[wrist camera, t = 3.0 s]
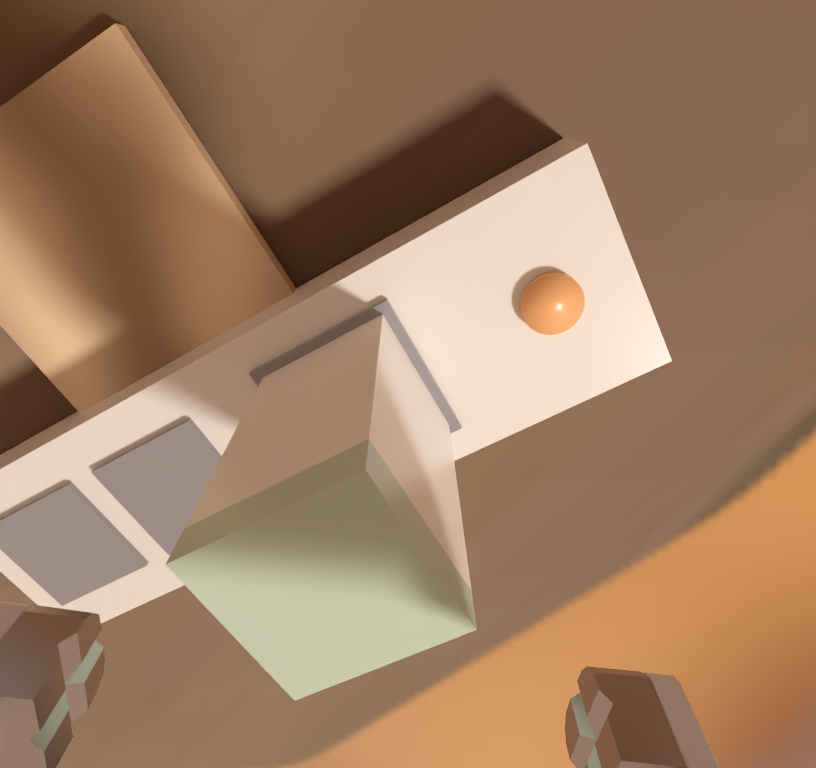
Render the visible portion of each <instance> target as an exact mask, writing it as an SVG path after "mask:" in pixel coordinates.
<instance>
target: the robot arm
mask: <svg viewBox="0 0 816 768" xmlns="http://www.w3.org/2000/svg"><path fill="white" fill-rule="evenodd" d="M101 629H102V628H101V622H100V616H99V614H95V613H90V612H82V611H75V610H68V609H61V608H53V607H46V606H39V605H30V604H22V603H14V602H6V601H1V602H0V768H56V767H57V765H58V764H59V762H60V760H61V758H62V756H63V755H64V753H65V751H66V749H67V747H68V745H69V744H70V742H71V740H72V738H73V733H72V726H71V722H72V721H73V720H74V719H76V718H77V717H79V716H80V715H81V714H83V713H84V712H86V711H87V710H88V709H89V707H90V705H91V703H92V701H93V699H94V697H95V695H96V693H97V691H98V688H99V685H100V682H101V679H102V676H103V672H104V663H105V655H104V648H103V647H102V646H101V645H100V644H99V643H98V642H97V641H96V640H95V639H96V638H97V636H98V634H99V633H100V631H101ZM578 685H579V688H580V693H579V694H577V695H576V696H574V697H573V698H571V699H570V702H569V705H568V708H567V711H566V722H565V734H566V744H567V749H568V753H569V758H570V760H571V761H572V763H574V765H575V766H576V767H577V768H719V766H718V764H717V761H716V759H715V757H714V755H713V753H712V750H711V748H710V746H709V744H708V742H707V740H706V738H705V736H704V733H703V731H702V729H701V727H700V725H699V723H698V720H697V718H696V716H695V714H694V712H693V710H692V708H691V705H690V703H689V701H688V699H687V697H686V695H685V693H684V691H683V689H682V686H681V684H680V682H679V681H678V680H677V679H676V678H675V677H674V676H669V675H660V674H651V673H642V672H638V671H637V672H636V671H627V670H616V669H607V668H596V667H586V668H584V669H583V670H582V671H581V674H580V676H579V679H578Z"/></svg>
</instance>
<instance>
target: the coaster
mask: <svg viewBox="0 0 816 768" xmlns="http://www.w3.org/2000/svg"><path fill="white" fill-rule="evenodd" d="M295 290H296V287H295V286H294V284H293V283H292V281H291V280H290V278H289V277H288V275H287V273H286V272H285V270H284V269H283V267H282V266H281V264H280V263H279V261H278V260H277V258H276V257H275V255H274V254H273V252H272V250H271V249H270V247H269V246H268V244H267V243H266V241H265V240H264V238H263V237H262V235H261V234H260V232H259V231H258V229H257V227H256V226H255V224H254V223H253V221H252V220H251V218H250V217H249V215H248V214H247V212H246V211H245V209H244V208H243V206H242V204H241V203H240V201H239V200H238V198H237V197H236V195H235V194H234V192H233V191H232V189H231V188H230V186H229V185H228V183H227V181H226V180H225V178H224V177H223V175H222V174H221V172H220V171H219V169H218V168H217V166H216V165H215V163H214V161H213V160H212V158H211V157H210V155H209V154H208V152H207V151H206V149H205V148H204V146H203V145H202V143H201V142H200V140H199V138H198V137H197V135H196V134H195V132H194V131H193V129H192V128H191V126H190V125H189V123H188V122H187V120H186V119H185V117H184V115H183V114H182V112H181V111H180V109H179V108H178V106H177V105H176V103H175V102H174V100H173V99H172V97H171V96H170V94H169V92H168V91H167V89H166V88H165V86H164V85H163V83H162V82H161V80H160V79H159V77H158V76H157V74H156V73H155V71H154V69H153V68H152V66H151V65H150V63H149V62H148V60H147V59H146V57H145V56H144V54H143V53H142V51H141V50H140V48H139V46H138V45H137V43H136V42H135V40H134V39H133V37H132V36H131V34H130V33H129V31H128V30H127V28H126V26H124V25H120V24H117V23H115V24H113V25H112V26H111V27H109V28H108V29H106V30H105V31H104V32H102V33H101V34H100V35H98V36H97V37H95V38H94V39H93V40H91V41H90V42H89V43H87V44H86V45H85V46H83V47H82V48H80V49H79V50H78V51H76V52H75V53H74V54H72V55H71V56H69V57H68V58H67V59H65V60H64V61H63V62H61V63H60V64H58V65H57V66H56V67H54V68H53V69H52V70H50V71H49V72H47V73H46V74H45V75H43V76H42V77H41V78H39V79H38V80H36V81H35V82H34V83H32V84H31V85H30V86H28V87H27V88H25V89H24V90H23V91H21V92H20V93H19V94H17V95H16V96H14V97H13V98H12V99H10V100H9V101H8V102H6V103H5V104H3V105H2V106H1V107H0V325H1V326H2V328H3V329H4V330H5V331H6V332H7V333H8V334H9V335H10V336H11V338H12V339H13V340H14V341H15V342H16V343H17V344H18V345H19V346H20V348H21V349H22V350H23V351H24V352H25V353H26V354H27V355H28V356H29V358H30V359H31V360H32V361H33V362H34V363H35V364H36V365H37V366H38V368H39V369H40V370H41V371H42V372H43V373H44V374H45V375H46V376H47V378H48V379H49V380H50V381H51V382H52V383H53V384H54V385H55V386H56V388H57V389H58V390H59V391H60V392H61V393H62V394H63V395H64V396H65V398H66V399H67V400H68V401H69V402H70V403H71V404H72V405H73V406H74V408H75V409H76V410H77V411H78V412H79V413H81V412H83V411H85V410H87V409H88V408H90V407H92V406H94V405H96V404H97V403H99V402H101V401H103V400H104V399H106V398H108V397H110V396H112V395H113V394H115V393H117V392H119V391H121V390H122V389H124V388H126V387H128V386H129V385H131V384H133V383H135V382H137V381H138V380H140V379H142V378H144V377H145V376H147V375H149V374H151V373H153V372H154V371H156V370H158V369H160V368H162V367H163V366H165V365H167V364H169V363H170V362H172V361H174V360H176V359H178V358H179V357H181V356H183V355H185V354H187V353H188V352H190V351H192V350H194V349H195V348H197V347H199V346H201V345H203V344H204V343H206V342H208V341H210V340H211V339H213V338H215V337H217V336H219V335H220V334H222V333H224V332H226V331H228V330H229V329H231V328H233V327H235V326H236V325H238V324H240V323H242V322H244V321H245V320H247V319H249V318H251V317H252V316H254V315H256V314H258V313H260V312H261V311H263V310H265V309H267V308H269V307H270V306H272V305H274V304H276V303H277V302H279V301H281V300H283V299H285V298H286V297H288V296H290V295H292V294H293V293H294V291H295Z"/></svg>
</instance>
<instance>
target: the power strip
mask: <svg viewBox="0 0 816 768" xmlns="http://www.w3.org/2000/svg"><path fill="white" fill-rule="evenodd" d="M382 314H383V315H384V317H385V319H386V320H387V322H388V324H389V325H390V327H391V329H392V330H393V332H394V334H395V335H396V337H397V339H398V340H399V342H400V344H401V345H402V347H403V349H404V350H405V352H406V354H407V355H408V357H409V359H410V360H411V362H412V364H413V365H414V367H415V369H416V370H417V372H418V374H419V375H420V377H421V379H422V380H423V382H424V384H425V385H426V387H427V389H428V390H429V392H430V394H431V395H432V397H433V399H434V400H435V402H436V404H437V405H438V407H439V409H440V411H441V412H442V414H443V416H444V417H445V419H446V421H447V422H448V424H449V428H450V435H451V443H452V450H453V457H454V461H455V460H457V459H460V458H462V457H464V456H466V455H468V454H470V453H473V452H475V451H477V450H479V449H481V448H483V447H486V446H488V445H490V444H492V443H494V442H497V441H499V440H501V439H503V438H505V437H507V436H510V435H512V434H514V433H516V432H518V431H520V430H523V429H525V428H527V427H529V426H531V425H534V424H536V423H538V422H540V421H542V420H544V419H547V418H549V417H551V416H553V415H555V414H557V413H560V412H562V411H564V410H566V409H568V408H570V407H573V406H575V405H577V404H579V403H581V402H584V401H586V400H588V399H590V398H592V397H594V396H597V395H599V394H601V393H603V392H605V391H607V390H610V389H612V388H614V387H616V386H618V385H621V384H623V383H625V382H627V381H629V380H631V379H634V378H636V377H638V376H640V375H642V374H644V373H647V372H649V371H651V370H653V369H655V368H658V367H660V366H662V365H664V364H666V363H668V362H671V361H672V360H671V357H670V355H669V352H668V350H667V347H666V344H665V342H664V339H663V337H662V334H661V332H660V329H659V326H658V324H657V321H656V319H655V316H654V314H653V311H652V308H651V306H650V303H649V301H648V298H647V295H646V293H645V290H644V288H643V285H642V283H641V280H640V277H639V275H638V272H637V270H636V267H635V265H634V262H633V259H632V257H631V254H630V252H629V249H628V247H627V244H626V241H625V239H624V236H623V234H622V231H621V229H620V226H619V223H618V221H617V218H616V216H615V213H614V211H613V208H612V205H611V203H610V200H609V198H608V195H607V193H606V190H605V187H604V185H603V182H602V180H601V177H600V175H599V172H598V169H597V167H596V164H595V162H594V159H593V157H592V154H591V151H590V149H589V146H588V144H587V143H584V142H580V141H575V140H571V139H566V138H563V139H561V140H559V141H558V142H556V143H554V144H552V145H551V146H549V147H547V148H545V149H543V150H542V151H540V152H538V153H536V154H534V155H533V156H531V157H529V158H527V159H526V160H524V161H522V162H520V163H518V164H517V165H515V166H513V167H511V168H510V169H508V170H506V171H504V172H502V173H501V174H499V175H497V176H495V177H494V178H492V179H490V180H488V181H486V182H485V183H483V184H481V185H479V186H478V187H476V188H474V189H472V190H470V191H469V192H467V193H465V194H463V195H462V196H460V197H458V198H456V199H454V200H453V201H451V202H449V203H447V204H446V205H444V206H442V207H440V208H438V209H437V210H435V211H433V212H431V213H430V214H428V215H426V216H424V217H422V218H421V219H419V220H417V221H415V222H414V223H412V224H410V225H408V226H406V227H405V228H403V229H401V230H399V231H398V232H396V233H394V234H392V235H390V236H389V237H387V238H385V239H383V240H382V241H380V242H378V243H376V244H374V245H373V246H371V247H369V248H367V249H365V250H364V251H362V252H360V253H358V254H357V255H355V256H353V257H351V258H349V259H348V260H346V261H344V262H342V263H341V264H339V265H337V266H335V267H333V268H332V269H330V270H328V271H326V272H325V273H323V274H321V275H319V276H317V277H316V278H314V279H312V280H310V281H309V282H307V283H305V284H303V285H301V286H300V287H298V288H296V290H295V291H294V293H293V294H292V295H290V296H288V297H286V298H285V299H283V300H281V301H279V302H277V303H276V304H274V305H272V306H270V307H269V308H267V309H265V310H263V311H261V312H260V313H258V314H256V315H254V316H252V317H251V318H249V319H247V320H245V321H244V322H242V323H240V324H238V325H236V326H235V327H233V328H231V329H229V330H228V331H226V332H224V333H222V334H220V335H219V336H217V337H215V338H213V339H211V340H210V341H208V342H206V343H204V344H203V345H201V346H199V347H197V348H195V349H194V350H192V351H190V352H188V353H187V354H185V355H183V356H181V357H179V358H178V359H176V360H174V361H172V362H170V363H169V364H167V365H165V366H163V367H162V368H160V369H158V370H156V371H154V372H153V373H151V374H149V375H147V376H145V377H144V378H142V379H140V380H138V381H137V382H135V383H133V384H131V385H129V386H128V387H126V388H124V389H122V390H121V391H119V392H117V393H115V394H113V395H112V396H110V397H108V398H106V399H104V400H103V401H101V402H99V403H97V404H96V405H94V406H92V407H90V408H88V409H87V410H85V411H83V412H81V413H79V412H78V411H77V412H76V413H74V414H72V415H70V416H68V417H67V418H65V419H63V420H61V421H60V422H58V423H56V424H54V425H52V426H51V427H49V428H47V429H45V430H43V431H42V432H40V433H38V434H36V435H35V436H33V437H31V438H29V439H27V440H26V441H24V442H22V443H20V444H19V445H17V446H15V447H13V448H11V449H10V450H8V451H6V452H4V453H3V454H1V455H0V576H1V575H3V574H4V575H5V576H6V577H7V578H8V579H9V580H10V581H11V582H13V583H14V584H15V585H16V586H17V587H18V588H19V589H20V590H22V591H23V592H24V593H25V594H26V595H27V596H28V597H29V598H30V599H32V600H33V601H34V602H35V603H36V604H37V605H39V606H46V607H53V608H61V609H68V610H75V611H82V612H90V613H95V614H99V616H100V622H101V623H103V622H105V621H107V620H109V619H111V618H114V617H116V616H118V615H120V614H122V613H125V612H127V611H129V610H131V609H133V608H135V607H138V606H140V605H142V604H144V603H146V602H148V601H151V600H153V599H155V598H157V597H159V596H161V595H164V594H166V593H168V592H170V591H172V590H175V589H177V588H179V587H181V586H183V585H184V584H183V583H182V581H181V580H180V579H179V578H178V577H177V576H176V575H175V574H174V573H173V572H172V571H171V570H170V569H169V568H168V567H167V566H166V565H165V564H166V562H167V560H168V559H169V557H170V555H171V553H172V551H173V549H174V547H175V545H176V543H177V541H178V539H179V537H180V536H181V534H182V532H183V530H184V528H185V526H186V524H187V522H188V520H189V518H190V516H191V514H192V513H193V511H194V509H195V507H196V505H197V503H198V501H199V499H200V497H201V495H202V493H203V491H204V490H205V488H206V486H207V484H208V482H209V480H210V478H211V476H212V474H213V472H214V470H215V468H216V466H217V465H218V463H219V461H220V459H221V457H222V455H223V453H224V451H225V449H226V447H227V445H228V443H229V442H230V440H231V438H232V436H233V434H234V432H235V430H236V428H237V426H238V424H239V422H240V420H241V419H242V417H243V415H244V413H245V411H246V409H247V407H248V405H249V403H250V401H251V399H252V397H253V396H254V394H255V392H256V390H257V388H258V386H259V384H260V382H261V380H262V378H263V377H265V376H267V375H269V374H271V373H273V372H275V371H276V370H278V369H280V368H282V367H284V366H286V365H288V364H290V363H291V362H293V361H295V360H297V359H299V358H301V357H303V356H305V355H307V354H308V353H310V352H312V351H314V350H316V349H318V348H320V347H322V346H323V345H325V344H327V343H329V342H331V341H333V340H335V339H337V338H338V337H340V336H342V335H344V334H346V333H348V332H350V331H352V330H353V329H355V328H357V327H359V326H361V325H363V324H365V323H367V322H369V321H370V320H372V319H374V318H376V317H378V316H380V315H382Z"/></svg>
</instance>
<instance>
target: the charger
mask: <svg viewBox="0 0 816 768" xmlns="http://www.w3.org/2000/svg"><path fill="white" fill-rule="evenodd" d="M165 565H166V566H167V567H168V568H169V569H170V570H171V571H172V572H173V573H174V574H175V575H176V576H177V577H178V578H179V579H180V580H181V581H182V583H183V584H184V585H185V586H186V587H187V588H188V589H189V590H190V591H191V592H192V593H193V594H194V595H195V596H196V597H197V598H198V599H199V600H200V602H201V603H202V604H203V605H204V606H205V607H206V608H207V609H208V610H209V611H210V612H211V613H212V614H213V615H214V616H215V617H216V618H217V619H218V620H219V622H220V623H221V624H222V625H223V626H224V627H225V628H226V629H227V630H228V631H229V632H230V633H231V634H232V635H233V636H234V637H235V638H236V639H237V640H238V642H239V643H240V644H241V645H242V646H243V647H244V648H245V649H246V650H247V651H248V652H249V653H250V654H251V655H252V656H253V657H254V658H255V659H256V660H257V662H258V663H259V664H260V665H261V666H262V667H263V668H264V669H265V670H266V671H267V672H268V673H269V674H270V675H271V676H272V677H273V678H274V679H275V680H276V682H277V683H278V684H279V685H280V686H281V687H282V688H283V689H284V690H285V691H286V692H287V693H288V694H289V695H290V696H291V697H292V698H293V699H294V700H298V699H300V698H303V697H305V696H308V695H311V694H313V693H316V692H318V691H321V690H323V689H326V688H328V687H331V686H334V685H336V684H339V683H341V682H344V681H346V680H349V679H352V678H354V677H357V676H359V675H362V674H364V673H367V672H369V671H372V670H375V669H377V668H380V667H382V666H385V665H387V664H390V663H393V662H395V661H398V660H400V659H403V658H405V657H408V656H411V655H413V654H416V653H418V652H421V651H423V650H426V649H428V648H431V647H434V646H436V645H439V644H441V643H444V642H446V641H449V640H452V639H454V638H457V637H459V636H462V635H464V634H467V633H469V632H472V631H475V630H477V629H476V621H475V614H474V606H473V599H472V591H471V584H470V576H469V569H468V562H467V554H466V547H465V539H464V532H463V524H462V517H461V510H460V502H459V495H458V487H457V480H456V472H455V465H454V457H453V450H452V443H451V435H450V428H449V424H448V422H447V421H446V419H445V417H444V416H443V414H442V412H441V411H440V409H439V407H438V405H437V404H436V402H435V400H434V399H433V397H432V395H431V394H430V392H429V390H428V389H427V387H426V385H425V384H424V382H423V380H422V379H421V377H420V375H419V374H418V372H417V370H416V369H415V367H414V365H413V364H412V362H411V360H410V359H409V357H408V355H407V354H406V352H405V350H404V349H403V347H402V345H401V344H400V342H399V340H398V339H397V337H396V335H395V334H394V332H393V330H392V329H391V327H390V325H389V324H388V322H387V320H386V319H385V317H384V315H383V314H382V315H380V316H378V317H376V318H374V319H372V320H370V321H369V322H367V323H365V324H363V325H361V326H359V327H357V328H355V329H353V330H352V331H350V332H348V333H346V334H344V335H342V336H340V337H338V338H337V339H335V340H333V341H331V342H329V343H327V344H325V345H323V346H322V347H320V348H318V349H316V350H314V351H312V352H310V353H308V354H307V355H305V356H303V357H301V358H299V359H297V360H295V361H293V362H291V363H290V364H288V365H286V366H284V367H282V368H280V369H278V370H276V371H275V372H273V373H271V374H269V375H267V376H265V377H263V378H262V380H261V382H260V384H259V386H258V388H257V390H256V392H255V394H254V396H253V397H252V399H251V401H250V403H249V405H248V407H247V409H246V411H245V413H244V415H243V417H242V419H241V420H240V422H239V424H238V426H237V428H236V430H235V432H234V434H233V436H232V438H231V440H230V442H229V443H228V445H227V447H226V449H225V451H224V453H223V455H222V457H221V459H220V461H219V463H218V465H217V466H216V468H215V470H214V472H213V474H212V476H211V478H210V480H209V482H208V484H207V486H206V488H205V490H204V491H203V493H202V495H201V497H200V499H199V501H198V503H197V505H196V507H195V509H194V511H193V513H192V514H191V516H190V518H189V520H188V522H187V524H186V526H185V528H184V530H183V532H182V534H181V536H180V537H179V539H178V541H177V543H176V545H175V547H174V549H173V551H172V553H171V555H170V557H169V559H168V560H167V562H166V564H165Z"/></svg>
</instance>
